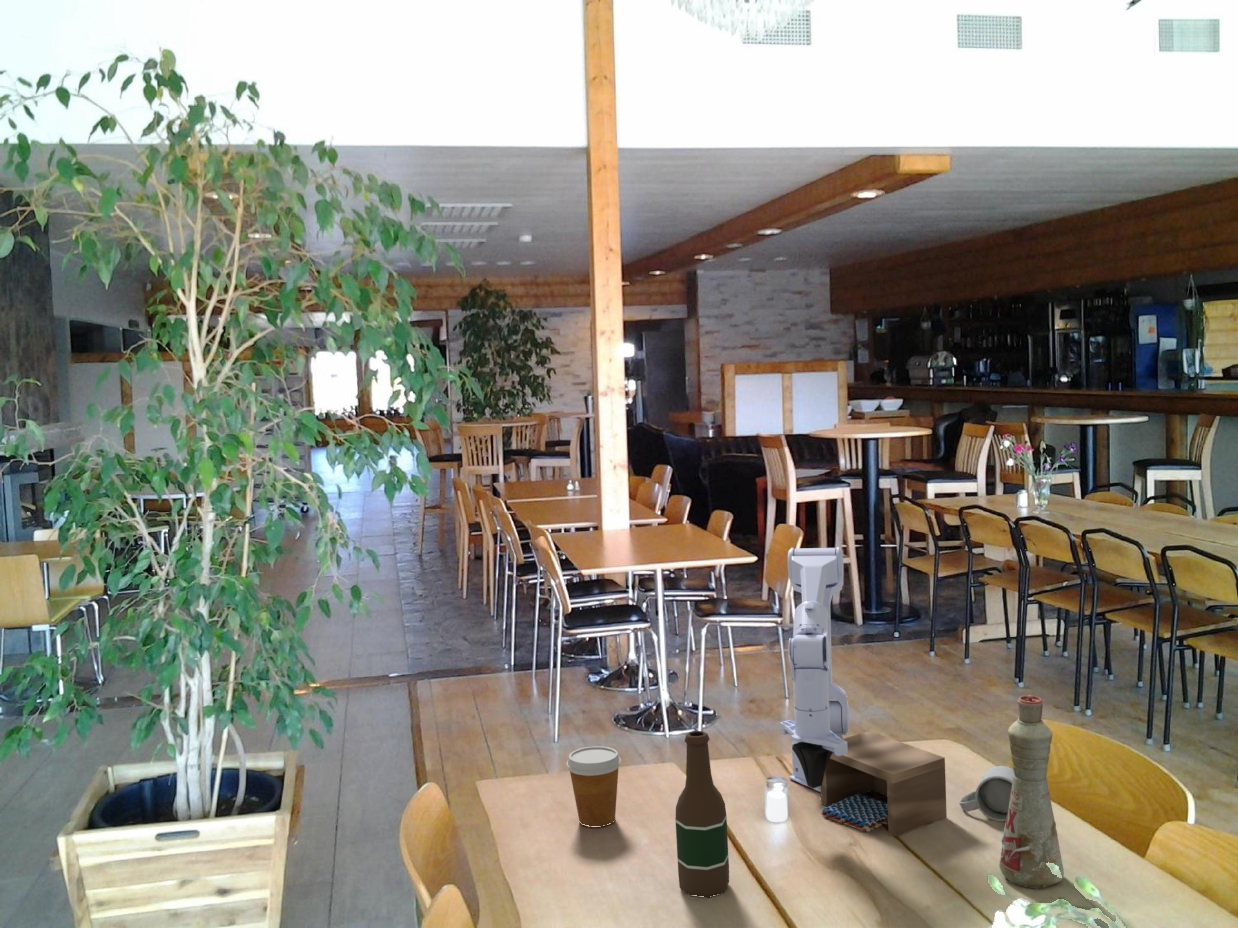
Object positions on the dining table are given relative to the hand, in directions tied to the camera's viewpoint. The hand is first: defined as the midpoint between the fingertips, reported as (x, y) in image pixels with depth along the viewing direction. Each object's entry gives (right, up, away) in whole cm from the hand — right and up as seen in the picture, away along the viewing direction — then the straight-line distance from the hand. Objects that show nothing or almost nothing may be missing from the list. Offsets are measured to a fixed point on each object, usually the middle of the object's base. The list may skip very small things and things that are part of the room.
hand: (814, 785), depth 191 cm
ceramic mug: (+31, -6, +5) cm, 32 cm away
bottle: (+29, -9, -19) cm, 36 cm away
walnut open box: (+13, -7, +9) cm, 17 cm away
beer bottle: (-19, -11, -16) cm, 28 cm away
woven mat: (+9, -8, +7) cm, 14 cm away
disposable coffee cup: (-36, -9, +11) cm, 39 cm away
